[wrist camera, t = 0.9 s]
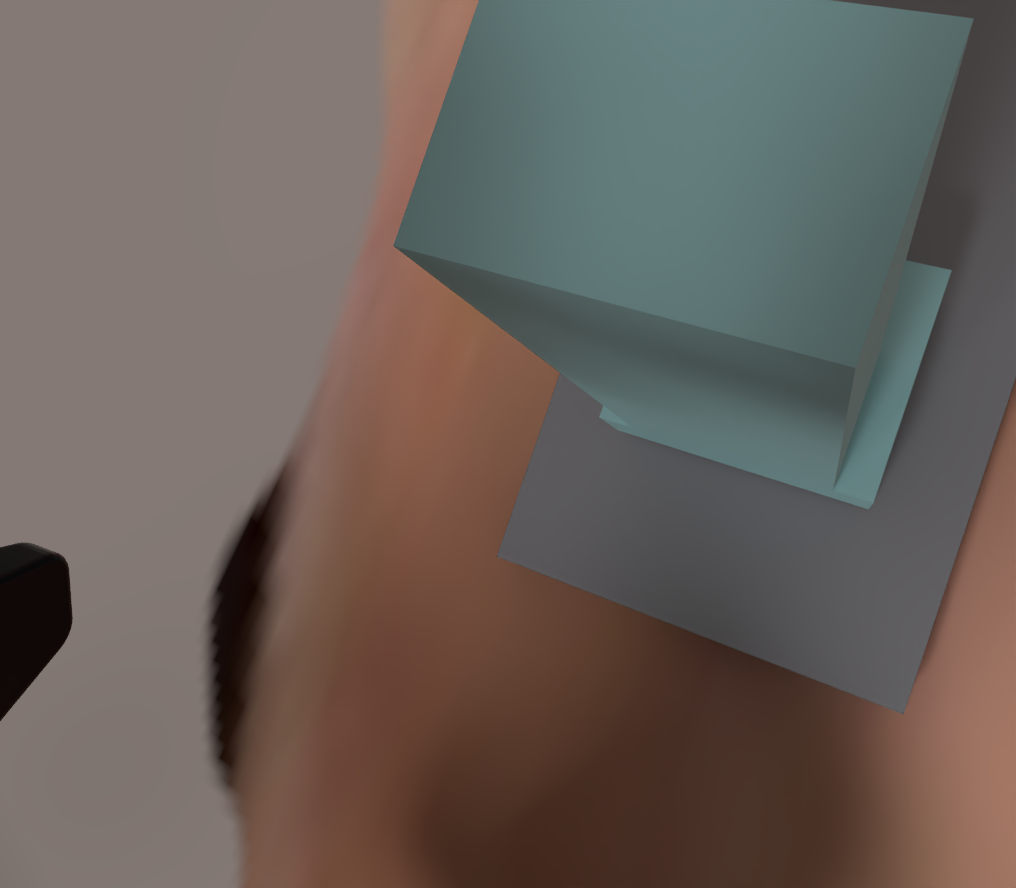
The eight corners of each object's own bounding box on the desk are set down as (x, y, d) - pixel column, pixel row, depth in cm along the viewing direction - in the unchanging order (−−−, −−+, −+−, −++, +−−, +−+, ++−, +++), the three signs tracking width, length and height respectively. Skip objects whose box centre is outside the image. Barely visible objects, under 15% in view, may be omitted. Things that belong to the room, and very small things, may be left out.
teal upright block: (868, 509, 20) (960, 396, 7) (617, 430, 22) (325, 227, 9) (995, 130, 20) (1321, -677, 7) (735, 87, 22) (616, -599, 9)
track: (897, 704, 21) (967, 823, 11) (515, 557, 24) (310, 548, 15) (1205, -215, 21) (1533, -881, 12) (786, -231, 25) (765, -753, 15)
